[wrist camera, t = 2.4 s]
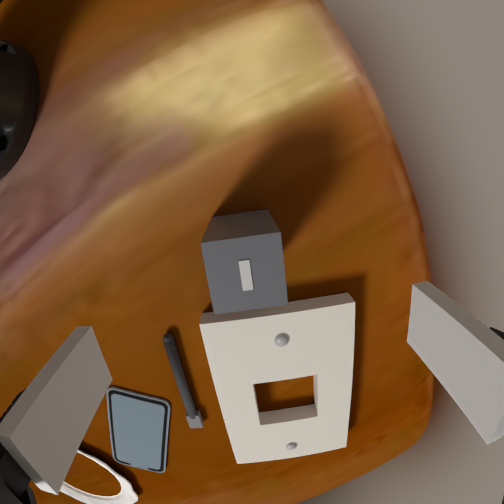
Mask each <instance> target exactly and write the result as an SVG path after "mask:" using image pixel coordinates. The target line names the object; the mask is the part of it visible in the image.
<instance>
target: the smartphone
mask: <svg viewBox="0 0 504 504" xmlns="http://www.w3.org/2000/svg"><path fill="white" fill-rule="evenodd" d="M107 406H108V418H109V428H110V437H111V445H112V453H113V458H114V460H115V461H116V462H118V463H121V464H125V465H128V466H132V467H136V468H140V469H144V470H149V471H153V472H158V473H162V472H164V471H165V468H166V458H167V442H168V429H169V418H170V404H169V402H168V401H166V400H164V399H161V398H157V397H152V396H148V395H144V394H139V393H136V392H133V391H128V390H124V389H120V388H118V387H109V388H108V390H107Z"/></svg>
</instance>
